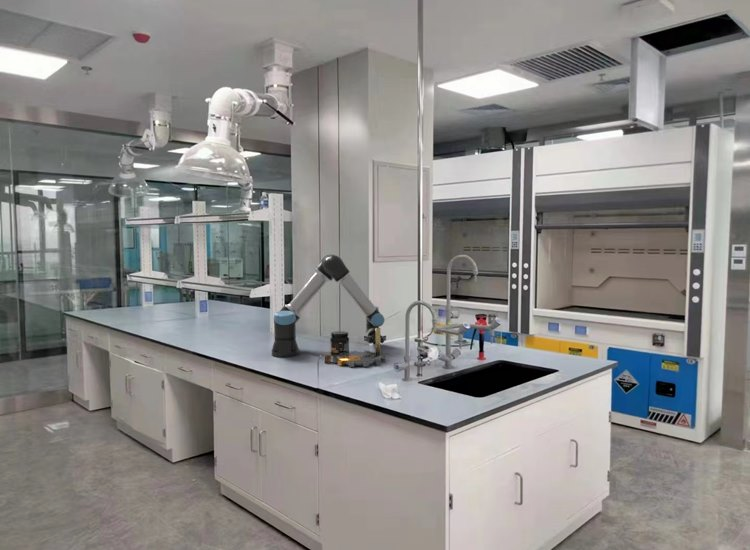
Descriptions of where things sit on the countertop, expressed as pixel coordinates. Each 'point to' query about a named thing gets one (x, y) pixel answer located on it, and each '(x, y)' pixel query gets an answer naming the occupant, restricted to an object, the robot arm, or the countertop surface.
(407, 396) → the countertop surface
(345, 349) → the supplement container
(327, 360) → the index mark
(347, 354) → the turntable
